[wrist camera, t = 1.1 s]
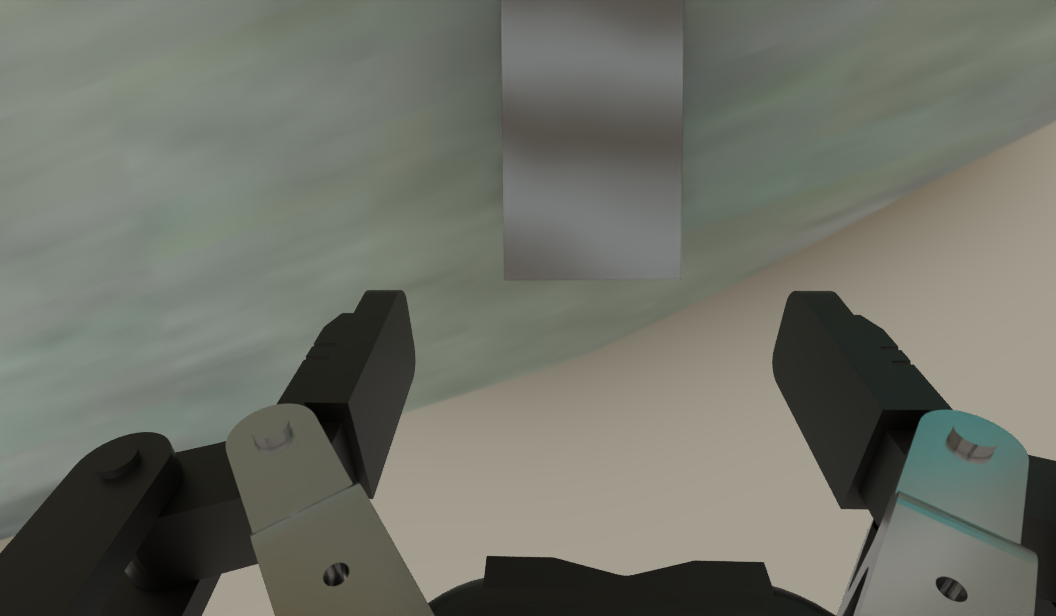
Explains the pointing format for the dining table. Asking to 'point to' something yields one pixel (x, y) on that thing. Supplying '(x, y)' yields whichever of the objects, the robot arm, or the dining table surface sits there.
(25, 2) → the dining table surface
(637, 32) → the grey flat plate
